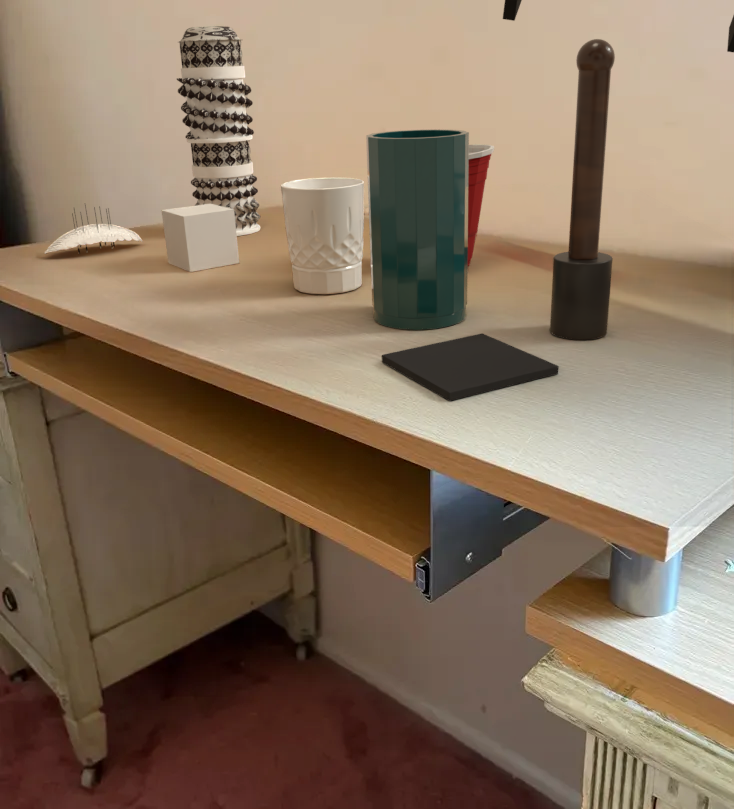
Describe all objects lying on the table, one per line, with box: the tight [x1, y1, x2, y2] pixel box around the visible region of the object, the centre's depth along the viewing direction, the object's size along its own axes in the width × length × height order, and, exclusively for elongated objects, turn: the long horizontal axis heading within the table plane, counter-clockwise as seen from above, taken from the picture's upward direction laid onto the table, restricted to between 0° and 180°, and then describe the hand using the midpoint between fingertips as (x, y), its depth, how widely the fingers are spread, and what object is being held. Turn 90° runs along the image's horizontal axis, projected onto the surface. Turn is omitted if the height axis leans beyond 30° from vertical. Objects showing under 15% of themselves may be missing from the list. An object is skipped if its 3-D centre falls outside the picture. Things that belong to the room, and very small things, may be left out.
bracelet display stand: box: [176, 25, 261, 237], centre depth 107 cm, size 9×9×25 cm
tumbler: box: [365, 128, 470, 331], centre depth 69 cm, size 8×8×15 cm
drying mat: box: [381, 333, 560, 402], centre depth 59 cm, size 9×9×1 cm
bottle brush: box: [549, 38, 616, 341], centre depth 62 cm, size 4×4×21 cm
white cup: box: [280, 176, 365, 295], centre depth 80 cm, size 8×8×10 cm
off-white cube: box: [160, 204, 240, 273], centre depth 93 cm, size 6×6×6 cm
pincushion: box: [43, 204, 144, 254], centre depth 101 cm, size 12×6×6 cm, turn 122°
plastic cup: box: [468, 144, 495, 267], centre depth 87 cm, size 11×11×12 cm
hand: (620, 25), depth 51 cm, fingers open, 13 cm apart
